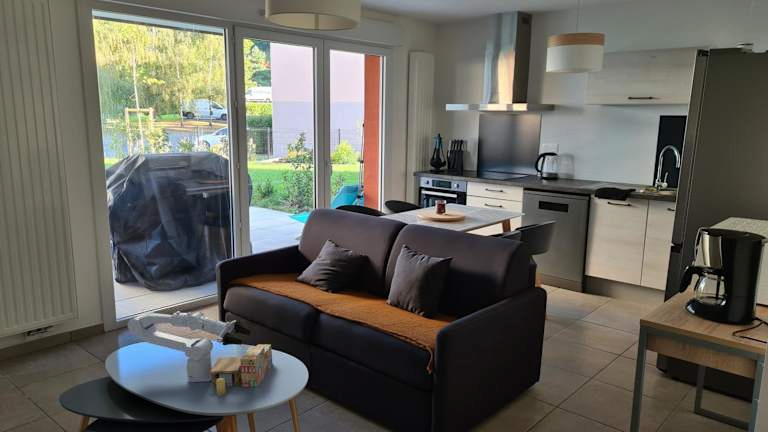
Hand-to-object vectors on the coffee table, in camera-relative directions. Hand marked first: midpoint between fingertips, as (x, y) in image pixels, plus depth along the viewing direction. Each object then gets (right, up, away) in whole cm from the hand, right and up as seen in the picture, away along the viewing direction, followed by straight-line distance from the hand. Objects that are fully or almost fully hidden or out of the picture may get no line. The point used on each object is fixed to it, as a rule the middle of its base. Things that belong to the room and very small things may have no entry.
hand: (246, 337), depth 218 cm
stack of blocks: (+3, -18, +8) cm, 20 cm away
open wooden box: (-8, -18, +4) cm, 21 cm away
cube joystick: (-8, -20, -3) cm, 21 cm away
